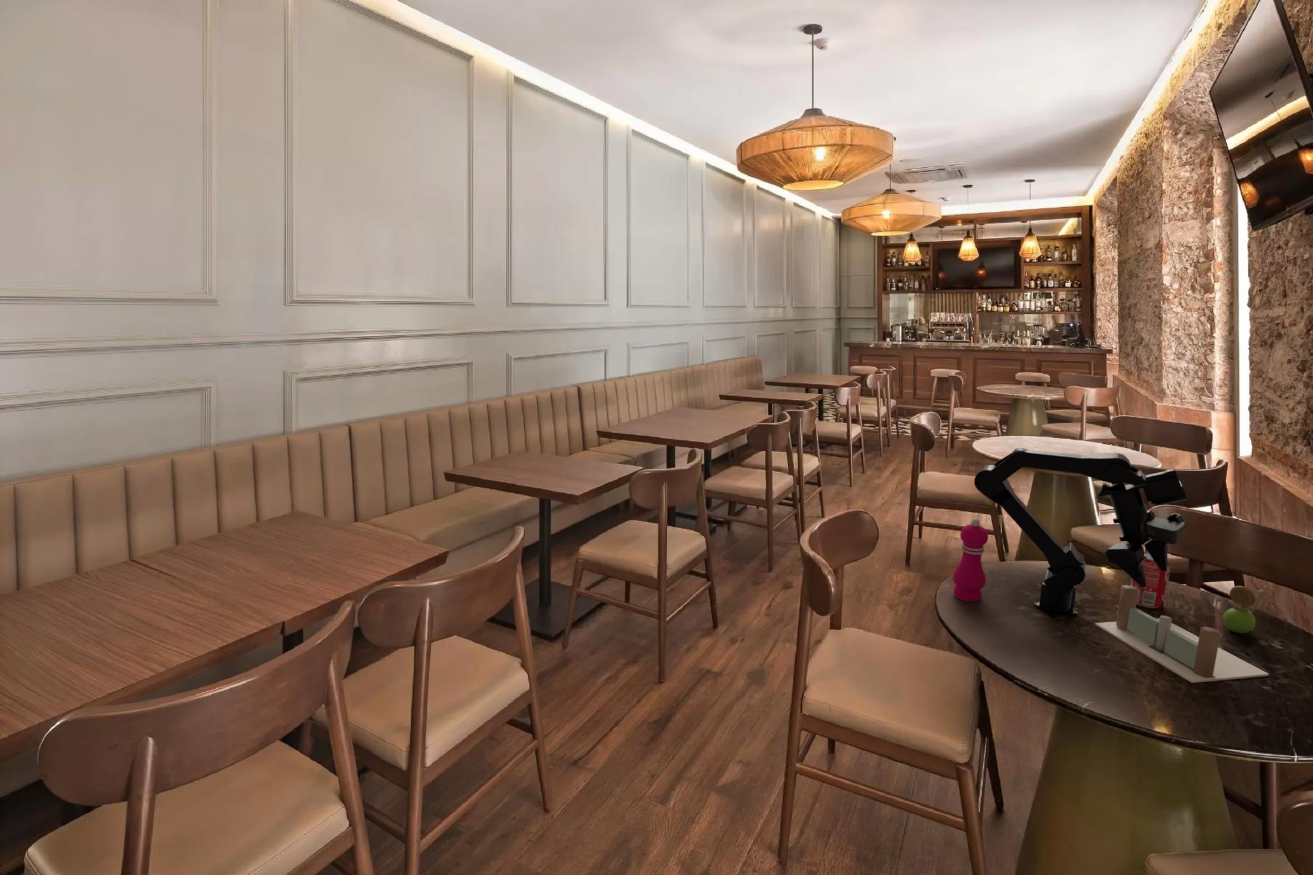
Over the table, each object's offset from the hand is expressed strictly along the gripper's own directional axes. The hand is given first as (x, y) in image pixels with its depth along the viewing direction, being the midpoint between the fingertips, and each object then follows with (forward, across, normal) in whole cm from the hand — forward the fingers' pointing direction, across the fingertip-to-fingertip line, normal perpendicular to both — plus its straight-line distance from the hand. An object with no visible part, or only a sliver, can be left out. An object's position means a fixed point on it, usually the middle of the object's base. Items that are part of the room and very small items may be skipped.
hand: (1154, 578), depth 152 cm
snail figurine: (+18, +13, -6) cm, 23 cm away
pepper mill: (-3, -20, +32) cm, 38 cm away
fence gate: (+9, -8, +3) cm, 13 cm away
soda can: (+11, +12, +11) cm, 20 cm away
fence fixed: (+12, -13, -7) cm, 19 cm away
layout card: (+13, -7, -3) cm, 15 cm away
